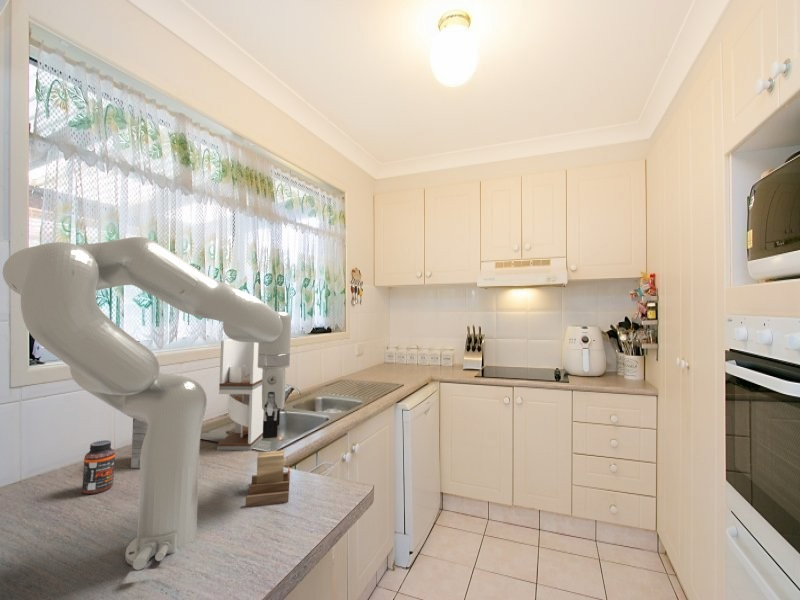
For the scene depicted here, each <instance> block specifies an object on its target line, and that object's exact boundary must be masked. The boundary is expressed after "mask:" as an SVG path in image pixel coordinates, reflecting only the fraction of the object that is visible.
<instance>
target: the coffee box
mask: <svg viewBox="0 0 800 600" xmlns="http://www.w3.org/2000/svg"><path fill="white" fill-rule="evenodd" d="M147 429H148V423H146V422H143V421H140V420H137V419H134V418H132V435H131V436H132V438H131V440H132V441H131V455H130V457H131V458H130V459H131V461H130V462H131V463H130V469H140V455H141V449H142V444H143V441H144V438H145V436H146V433H147Z"/></svg>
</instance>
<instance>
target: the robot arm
mask: <svg viewBox="0 0 800 600" xmlns="http://www.w3.org/2000/svg"><path fill="white" fill-rule="evenodd" d="M2 275H3V276H2V277H3V280H4V282H5V284H6V285H7V286H8V288H9V289H11V290H12V291H13V292H14V293H16V294H19V295H20V311H21V314H22V319H23V322H24V325H25V327H26V329H27V331H28V333H29V334H30V336H31V337H32V338H33V340H35V341H36V342H37V343H38V344H39V345H40V346H41V347H42V348H44V349H45V350H46V351H48V353H50V354H52V355H53V356H55V357H56V358H58V359H59V360H60V361H62V362H63V363H65V365H66V366H68V367H69V371H70V375H71V377H72V379H73V381H74V382H75V383H76V384H77V385H78V387H80V388H82V389H83V390H85V392H87V393H89V394H91V395H92V396H94V397H95V398H98V399H99V400H101V401H102V402H104V403H106V404H107V405H109V406H110V407H112V408H113V409H115V410H117V411H119V412H120V413H122V414H124V415H126V416H128V417H129V418H131V419H133V418H134V419H137V420H140V421H143V422H146V423H148V429H147V433H146V436H145V438H144V441H143V444H142V449H141V455H140V468H139V482H138V483H139V485H138V503H137V504H138V505H137V506H138V507H137V509H138V511H137V526H136V527H137V529H136V533H137V534H136V537H135V538H134V539H133V540H132V541H131V542H130V543H129V544H128V545H127V547H126V550H125V557H124V558H125V561H126V563H127V564H129V565H130V566H131V567H133V569H134V570H136V571H140V570H142V569H144V568H145V567H146V566H147V564H148V562H149V560H150V559H151V558H152V557H154V559H155V560H156V561H157V562H161V561H162V560H163V559H165V557H166V555H171V554H175V553H176V552H177V550H178V549H180V548H183V547H184V546H186V545H187V544H188V543H190V542H191V541H192V540H193V539H194V537H196V535H197V530H198V529H197V527H198V526H197V525H198V524H197V523H198V503H199V502H198V501H199V500H198V498H199V478H200V476H199V474H200V473H199V472H200V447H201V436H202V435H201V433H202V429H203V428H202V426H203V422H204V419H205V418H204V417H205V413H206V410H207V401H208V399H207V394H206V391H205V389H204V387H203V386H202V385H201V384H200V383H199V382H198V381H196V380H195V379H193V378H190V377H187V376H183V375H177V374H168V373H163V372H160V364H159V361H158V358H157V357H156V355H155V354H154V353H153V352H152V350H150V349H149V348H148V347H147V346H146V345H144V344H143V343H141V342H140V341H138V339H135V338H134V337H132V336H131V335H130V334H129V333H128V332H126V331H125V330H124V329H123V328H121V327H120V326H118V325H117V324H116V323H115V322H113V321H112V320H111V318H109V317H108V316H107V315H106V314H105V313H104V312H103V311H102V310H101V308H100V306H99V304H98V302H97V295H96V293H97V291H100V290H105V289H106V290H107V289H111V288H116V287H120V286H121V287H122V286H133V287H136V288H137V289H140V290H141V291H143V292H146V293H147V294H149V295H151V296H153V297H155V298H157V299H158V300H160V301H163V302H164V303H166V304H168V305H170V306H171V307H173V308H175V309H177V310H178V311H180V312H182V313H185V314H189V315H191V316H195V317H198V318H204V319H209V320H213V321H218V322H221V323H222V330H223V332H224V334H225V336H226V337H228V338H229V339H232V340H235V341H240V342H256V343H258V368H262V369H263V370H262V409H263V410H264V416H263V439H273V438H278V426H279V425H280V419H281V418H280V417H281V416H280V414H281V410H284V408H285V403H286V402H285V399H286V396H285V395H286V368H289V367H290V360H291V359H290V358H291V335H292V334H291V327H292V316H291V314H290V313H289V312H287V311H280V310H278V311H276V310H275V309H273V308H272V307H271V306H269V305H268V304H266V303H265V302H263V301H262V300H260V299H259V298H257V297H255V296H254V295H252V294H250V293H248V292H246V291H243V290H241V289H238V288H236V287H234V286H231V285H229V284H227V283H225V282H222V281H219V280H218V279H214V278H213V277H210V276H209V275H208V274H206V273H204V272H203V271H201V270H200V269H198V268H196V267H195V266H194V265H192V264H190V263H189V262H187V261H186V260H185V259H183V258H182V257H180V256H178V255H177V254H175V253H173V252H172V251H171V250H169V249H168V248H166V247H164V246H163V245H161V244H160V243H158V242H157V241H155V240H153V239H150V238H147V237H143V236H133V237H125V238H122V239H116V240H110V241H103V242H95V243H83V244H74V243H70V242H62V241H56V242H55V241H54V242H48V243H47V242H45V243H42V244H39V245H35V246H30V247H25V248H23V249H20V250H17V251H16V252H14V253H12V254H11V255H10V256H9V257H8V258H7V259H6V261H5V262H4V264H3V267H2Z"/></svg>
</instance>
